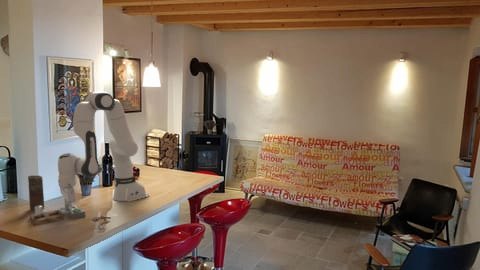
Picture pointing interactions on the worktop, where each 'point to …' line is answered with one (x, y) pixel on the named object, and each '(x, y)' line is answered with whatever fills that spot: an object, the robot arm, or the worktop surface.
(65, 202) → the cylinder
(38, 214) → the seated billet
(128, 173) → the robot arm
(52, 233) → the worktop surface
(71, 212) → the grey square holed block
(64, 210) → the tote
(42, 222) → the wooden holder frame
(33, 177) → the brown rounded piece
